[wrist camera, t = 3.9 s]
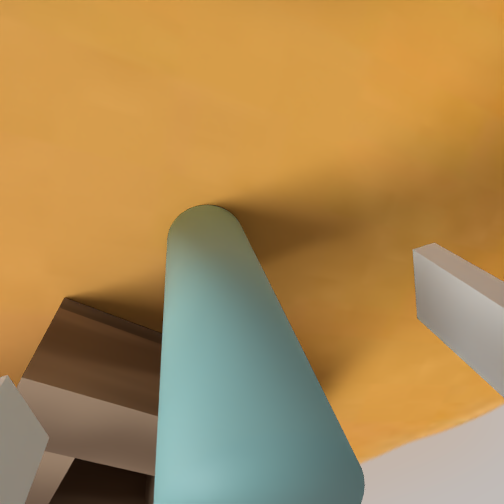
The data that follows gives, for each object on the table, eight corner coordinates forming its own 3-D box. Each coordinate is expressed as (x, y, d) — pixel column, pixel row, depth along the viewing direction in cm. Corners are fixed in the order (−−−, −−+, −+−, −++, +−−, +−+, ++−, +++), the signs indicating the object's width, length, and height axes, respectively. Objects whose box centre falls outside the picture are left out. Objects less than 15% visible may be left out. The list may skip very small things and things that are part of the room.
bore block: (64, 297, 19) (21, 377, 14) (258, 369, 24) (284, 452, 18) (-15, 458, 22) (-76, 576, 17) (170, 497, 26) (169, 601, 21)
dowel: (190, 190, 18) (223, 404, 6) (258, 226, 20) (404, 462, 7) (153, 257, 19) (113, 565, 7) (220, 287, 21) (292, 589, 8)
